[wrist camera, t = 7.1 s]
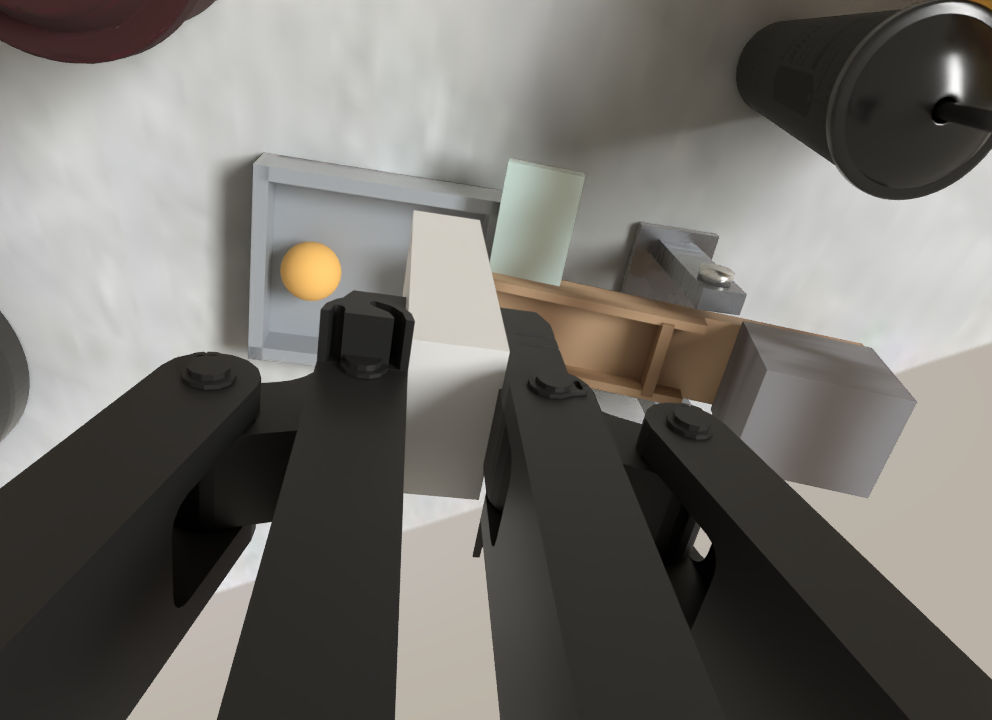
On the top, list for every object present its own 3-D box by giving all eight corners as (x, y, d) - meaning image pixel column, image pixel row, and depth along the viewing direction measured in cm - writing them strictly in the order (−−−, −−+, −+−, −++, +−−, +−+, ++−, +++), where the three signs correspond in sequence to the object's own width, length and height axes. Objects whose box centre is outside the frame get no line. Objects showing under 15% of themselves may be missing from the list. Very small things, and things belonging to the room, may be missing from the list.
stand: (598, 370, 49) (630, 441, 41) (639, 221, 44) (683, 271, 37) (668, 378, 50) (712, 450, 42) (715, 233, 45) (774, 285, 37)
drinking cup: (761, 165, 43) (992, 293, 26) (684, 69, 40) (886, 137, 23) (869, 68, 41) (1203, 134, 24) (797, -41, 38) (1116, -60, 21)
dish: (257, 337, 46) (247, 358, 43) (263, 152, 40) (253, 163, 38) (470, 363, 48) (472, 383, 45) (501, 190, 43) (506, 203, 40)
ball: (274, 306, 41) (335, 314, 41) (276, 248, 39) (340, 257, 40) (284, 283, 44) (341, 291, 44) (287, 229, 42) (346, 238, 43)
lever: (425, 338, 43) (396, 395, 36) (454, 145, 38) (426, 173, 31) (825, 424, 42) (867, 498, 36) (908, 240, 37) (975, 287, 31)
